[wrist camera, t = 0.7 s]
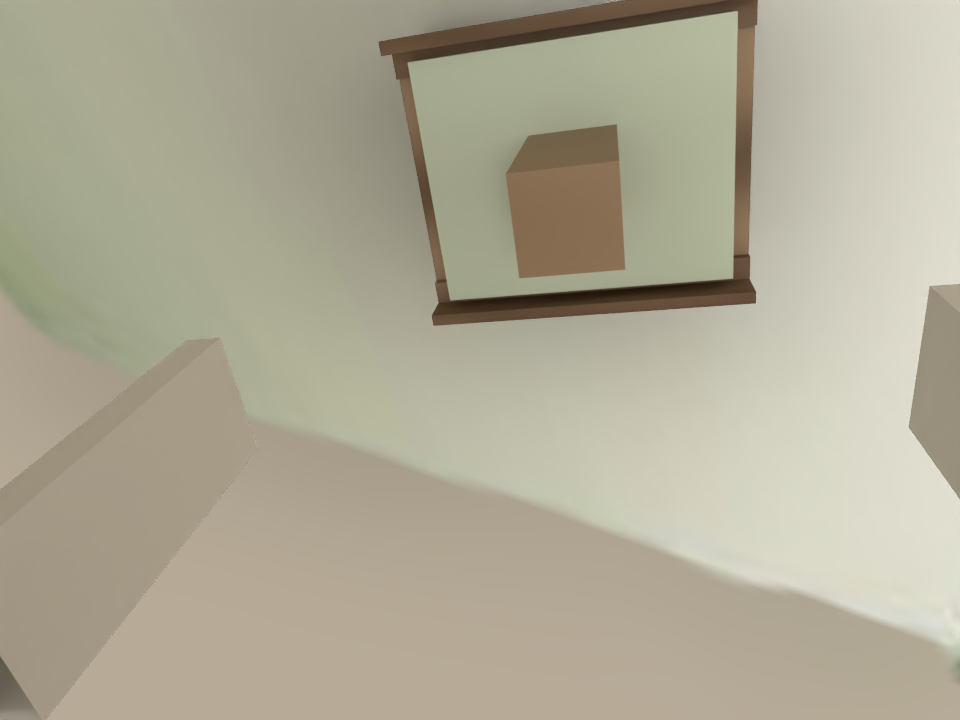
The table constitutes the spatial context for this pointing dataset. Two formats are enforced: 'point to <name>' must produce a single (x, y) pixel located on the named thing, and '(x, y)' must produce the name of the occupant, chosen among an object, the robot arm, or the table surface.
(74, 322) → the table surface
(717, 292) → the walnut box
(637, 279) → the lid
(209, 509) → the robot arm
